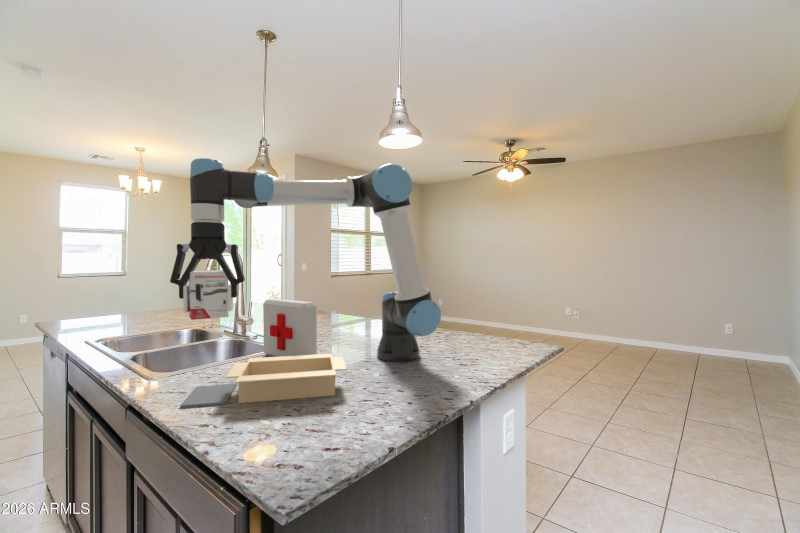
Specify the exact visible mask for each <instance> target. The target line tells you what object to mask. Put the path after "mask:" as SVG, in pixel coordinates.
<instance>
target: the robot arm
mask: <svg viewBox="0 0 800 533" xmlns="http://www.w3.org/2000/svg"><path fill="white" fill-rule="evenodd" d="M189 171H190V172H189V173H190V175H189V183H190V184H189V185H190V186H189V188H190V189H189V191H190V192H189V193H190V220H191V221H193V222H191V224H190V242H189V243H177V245H176V258H175V261H174V263H173V264H174V265H173V268H172V272H171V276H170V280H169V282H170V283H171V284H174V285H177V286H178V297H179V299H182V300H183V313H189V284H188V283H189V276H190V272H191V271H196V270H195V269H196V268H197V266H198V265H199V263H200V262H201V260H208V259H209V260H216V262H217V263H218V264H219V266H220V269H221V270H223V271H224V273H225V275H226V276H227V278H228V282H229V283H230V284H228V312H232V311H234V298H237V297H238V285H239V284H241V283H244V282H245V280H246V279H245V275H244V271H243V267H242V264H241V262H240V261H241V260H240V257H239V254H238V251H239V245H238V244H235V243H234V244H228V243H226V241H225V239H226V238H225V235H226V234H225V225H224V223H223V222H225V201H234V203H235V204H236V205H238V206H239V207H241V208H244V209H252V208H254V207H255V208H256V207H272V206H273V207H277V206H279V207H281V206H308V205H310V206H312V205H314V206H315V205H317V206H318V205H346V206H347V207H353V208H354V207H357V208H359V207H360V208H361V207H363V208H372V211H373V214H374V215H375V216H377V217H378V218H379V219H380V223H381V227H382V231H383V234H384V236H383V237H384V240H385V243H386V249H387V252H388V256H389V260H390V265H391V269H392V274H393V277H394V282H395V286H396V291H393V292H391V291H389V292H384V293H383V295H382V298H381V327H382V328H381V330H382V331H381V332H382V333H381V337H380V340H379V343H378V346H377V350H376V351H377V352H376V357H377V358H378V359H380V360H382V361H386V362H396V363H397V362H410V361H414V360H417V359H418V358H420V352H421V351H420V347H419V343H418V341H417V338H416V336H418V337H427V336H430V335H432V334H433V333H434V332H435V331H436V330H437V329H438V327H439V325H440V324H441V320H442V312H441V309H440V308H441V307H440V306H439V304H437V303H436V302H435V301H434V300H433V299H432V294H431V290H430V289H429V288H428V287H426V286H425V285H424V281H423V277H422V271H421V268H420V264H419V260H418V255H417V250H416V246H415V245H416V244H415V241H414V237H413V234H412V233H413V232H412V228H411V224H410V219H409V215H408V211H409V210H410V209H411V208H410V207H411V201H410V195H411V193H412V192H413V181H412V180H413V179H412V178H411V175H410V173H409V172H408V171H407V169H405V168H403V166H401V165H399V164H396V163H387V164H383V165H380V166H378V167H376V169H374V170H372V171H369V172H368V173H366V174H362V175H358V176H347V177H346V178H345V179H342V180H341V179H340V180H337V179H333V180H329V179H328V180H321V179H319V180H313V179H312V180H308V179H307V180H306V179H305V180H274V179H273V178H274V177H273V176H272V175H271V174H268V173H262V172H251V171H237V170H228V169H225V166H224V163H223V162H222V161H220V160H217V159H212V158H204V157H202V158H199V157H198V158H194V159H193V160H192V161H191V162H190V170H189ZM189 249H190V250H191V251H192V252H193V256H192V257H191V259H190V262H189V263H188V265H187V267H186V269H185V271H184V273H183V274H182V270H183V267H184V263H185V259H186V254H187V252H189ZM226 249H227V252H229V253H230V256H231V260H232V263H233V264H232V265H233V266H234V270H235V274H236V276H235V275H234V272H233V271H232V270H231V268H230V267H229V265H228V263H227V261H226V259H225V256H224V255H223V253H224V251H226ZM181 274H182V276H181ZM180 277H181V278H180Z"/></svg>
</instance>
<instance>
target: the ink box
mask: <svg viewBox="0 0 800 533" xmlns="http://www.w3.org/2000/svg"><path fill="white" fill-rule="evenodd" d="M188 283H189V284H188V285H189V312H188V314H189V315H188V316H189V318H190V320H192V321H194V320H206V319H218V318H219V319H220V318H228V317H229V311H228V285H229V280H228V278H227V276H226V275H225V273H224V271H223V270H222V269H220V270H219V269H214V270H213V269H212V270H211V269H210V270H206V269H205V270H194V271H191V272H190V276H189V280H188Z"/></svg>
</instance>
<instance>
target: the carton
mask: <svg viewBox="0 0 800 533" xmlns="http://www.w3.org/2000/svg"><path fill="white" fill-rule="evenodd" d="M332 354H333V353H317V354H315V355H298V356H280V357H273V356H268V357H267V356H266V357H265V356H264V357H263V356H262V357H250V358H248V359H247V361H246V362H234V364H233V366H232V367H231V369H230V370H229V371H228V373H227V375H226V376H225V379H235V378H237V379H236V381H235V384H238V404H247V403H255V402H256V403H257V402H259V403H260V402H268V401H269V402H270V401H282V400H283V401H284V400H294V399H306V398H307V399H308V398H317V397H318V398H320V397H330V396H336V376H337V371H338V372H339V371H347V366H346V362H345V359H344V357H343V356H333V355H332Z"/></svg>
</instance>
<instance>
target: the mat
mask: <svg viewBox="0 0 800 533" xmlns="http://www.w3.org/2000/svg"><path fill="white" fill-rule="evenodd" d="M236 387H237V383H227V384H225V383H224V384H214V385H213V384H212V385H199V386H195V388H194V389H193V390H192V391H191V392H190V394H188V395H187V397H186V398H185V399H184V400H183V401H182V403H181V404H180V405H179V408H180V409H183V408H185V409H186V408H195V407H206V406H207V407H208V406H210V407H211V406H219V405H220V406H221V405H227V403H228V401H229V400H230V397H231V396H232V395H233V392H234V390H236Z"/></svg>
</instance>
